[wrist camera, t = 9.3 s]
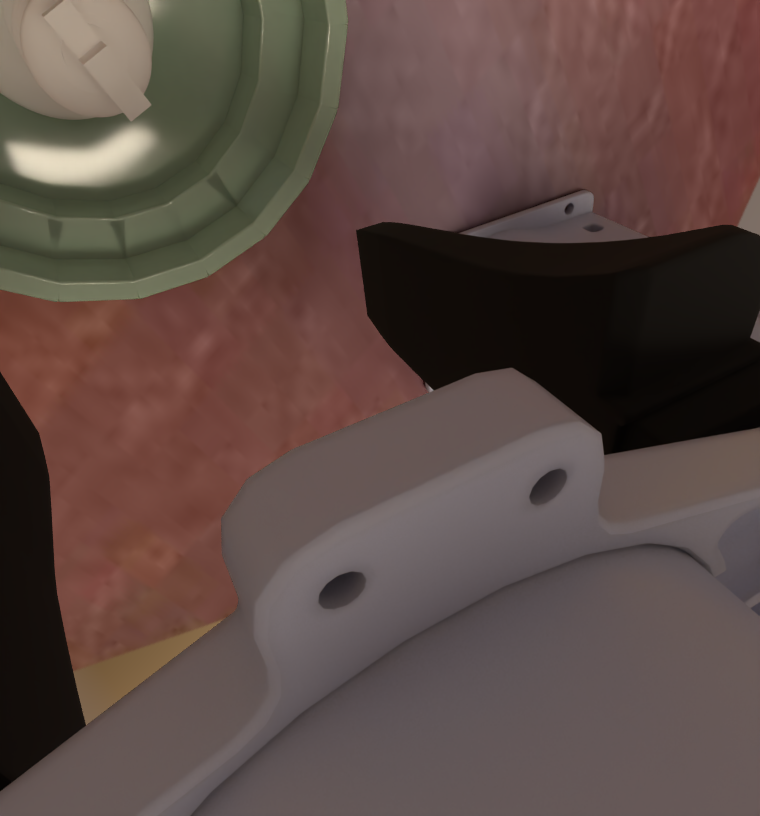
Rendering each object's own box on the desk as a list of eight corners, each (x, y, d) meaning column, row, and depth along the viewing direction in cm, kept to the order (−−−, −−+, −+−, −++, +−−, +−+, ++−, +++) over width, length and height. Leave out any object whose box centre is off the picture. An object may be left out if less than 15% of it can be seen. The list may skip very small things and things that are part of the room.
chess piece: (58, 154, 18) (106, 293, 10) (-117, -25, 14) (-223, 2, 7) (189, 47, 18) (324, 113, 10) (47, -158, 14) (108, -265, 7)
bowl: (227, -380, 14) (288, -464, 11) (325, 188, 22) (373, 223, 20) (-527, -379, 10) (-729, -508, 7) (-63, 305, 19) (-72, 369, 16)
